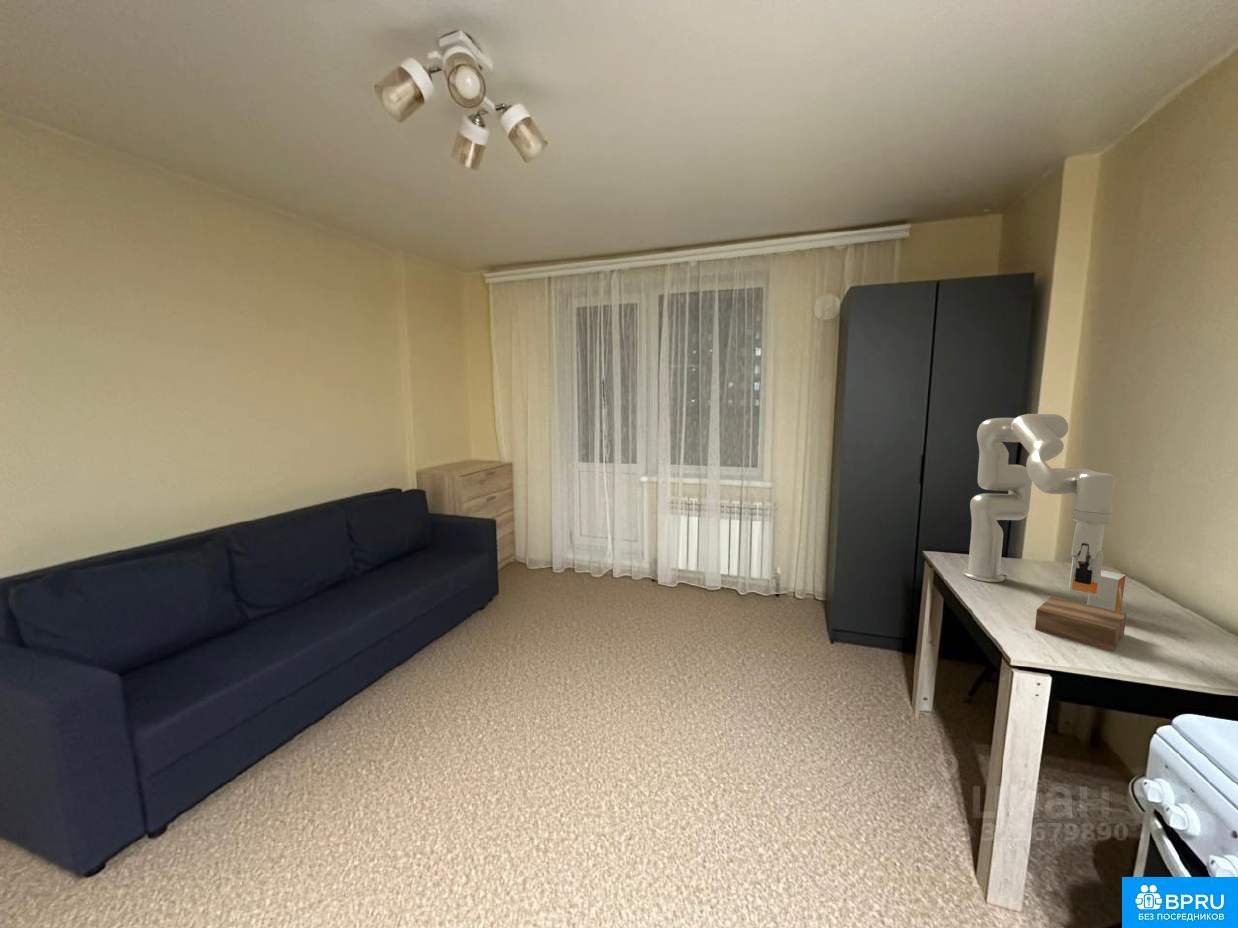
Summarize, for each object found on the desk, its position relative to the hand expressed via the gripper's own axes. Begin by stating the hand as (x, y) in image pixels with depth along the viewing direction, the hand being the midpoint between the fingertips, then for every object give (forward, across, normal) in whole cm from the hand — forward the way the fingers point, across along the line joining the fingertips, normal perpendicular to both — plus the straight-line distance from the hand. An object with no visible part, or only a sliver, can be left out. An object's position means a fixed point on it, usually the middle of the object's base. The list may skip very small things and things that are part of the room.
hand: (1084, 580), depth 136 cm
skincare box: (+4, 0, 0) cm, 4 cm away
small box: (+15, -21, +2) cm, 26 cm away
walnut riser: (+15, 0, 0) cm, 15 cm away
